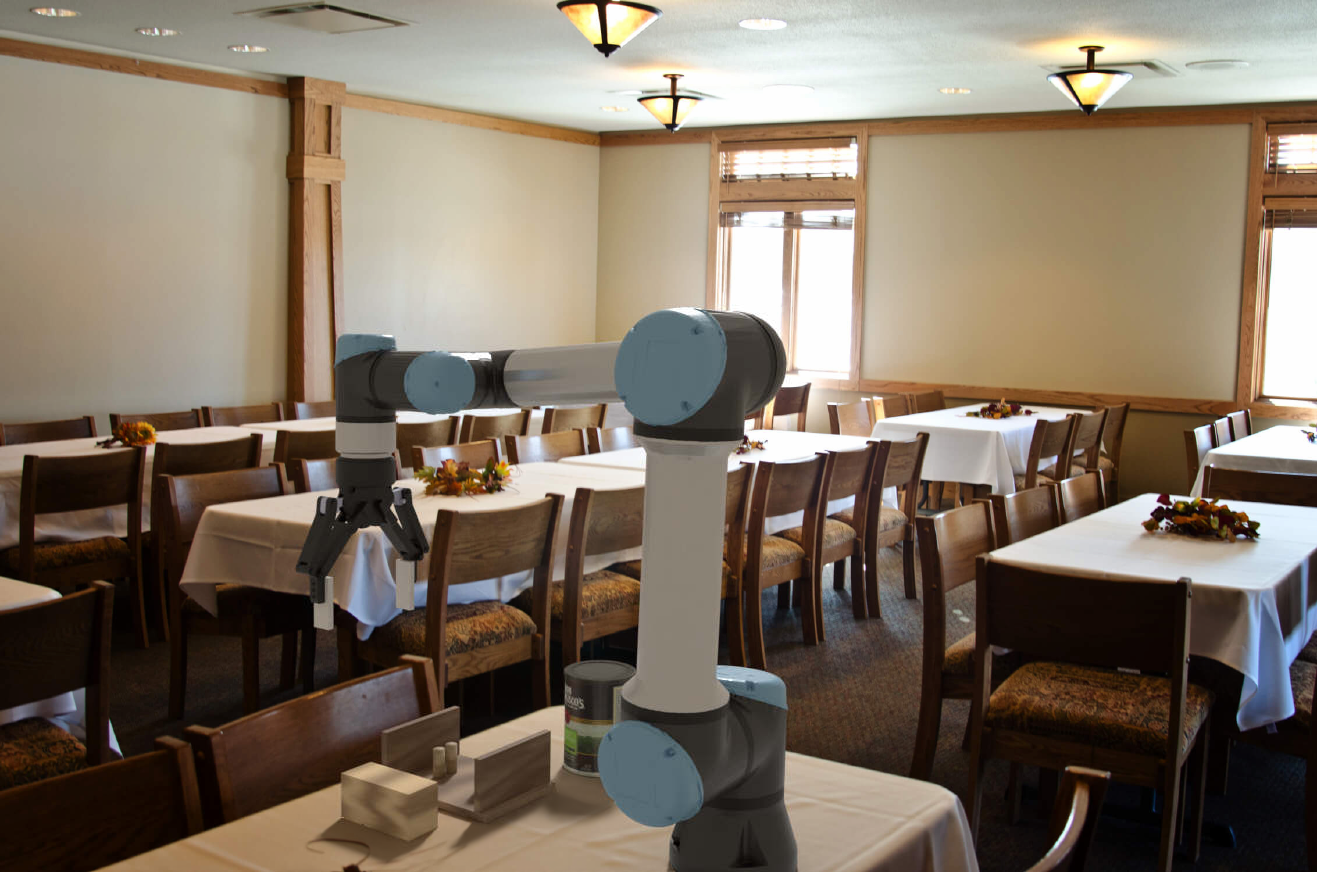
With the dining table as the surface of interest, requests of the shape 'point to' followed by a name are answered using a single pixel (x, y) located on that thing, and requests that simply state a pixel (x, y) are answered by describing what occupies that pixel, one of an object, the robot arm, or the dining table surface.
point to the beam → (389, 800)
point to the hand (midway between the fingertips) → (365, 618)
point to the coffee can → (591, 710)
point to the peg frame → (470, 766)
